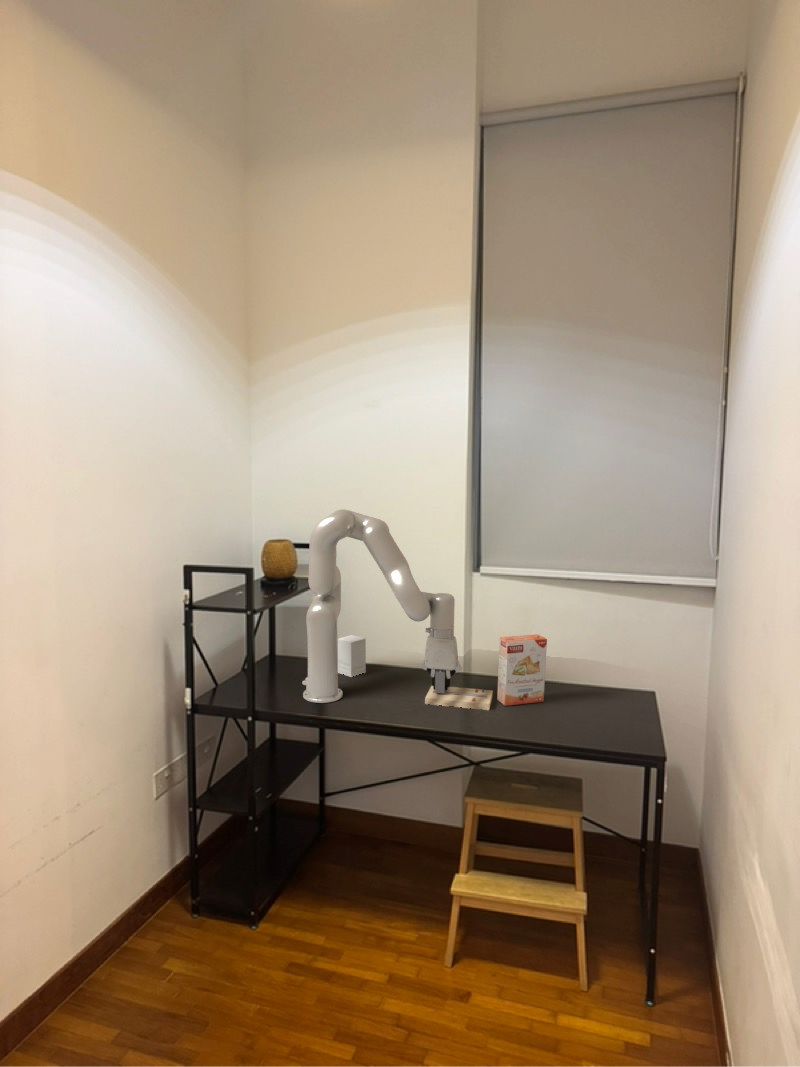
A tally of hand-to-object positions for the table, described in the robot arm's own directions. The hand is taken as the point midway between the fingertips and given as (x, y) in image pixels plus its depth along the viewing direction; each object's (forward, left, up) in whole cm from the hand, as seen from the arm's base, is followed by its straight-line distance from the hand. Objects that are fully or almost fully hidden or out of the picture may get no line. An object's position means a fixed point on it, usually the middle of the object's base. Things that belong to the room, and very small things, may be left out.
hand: (440, 688), depth 220 cm
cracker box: (+20, +16, -4) cm, 26 cm away
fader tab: (0, 0, -1) cm, 1 cm away
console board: (+5, +3, -3) cm, 7 cm away
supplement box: (-38, -3, -4) cm, 39 cm away
